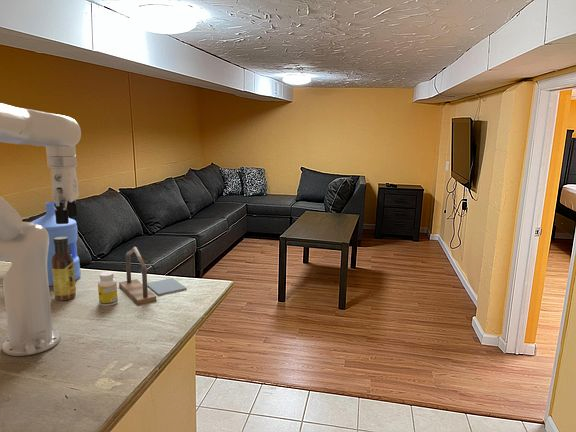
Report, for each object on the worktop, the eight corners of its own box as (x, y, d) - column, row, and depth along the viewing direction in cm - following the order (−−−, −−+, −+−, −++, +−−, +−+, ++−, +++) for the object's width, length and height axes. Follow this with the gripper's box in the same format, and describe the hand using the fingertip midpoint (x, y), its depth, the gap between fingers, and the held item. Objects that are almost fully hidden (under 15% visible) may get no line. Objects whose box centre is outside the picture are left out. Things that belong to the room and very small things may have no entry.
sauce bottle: (75, 300, 137) (70, 239, 133) (53, 302, 135) (47, 241, 131) (77, 292, 143) (72, 234, 139) (55, 295, 141) (50, 236, 137)
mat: (186, 289, 148) (186, 287, 148) (158, 295, 142) (158, 294, 142) (172, 279, 157) (172, 277, 157) (145, 284, 151) (145, 283, 151)
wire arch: (156, 300, 138) (154, 252, 135) (137, 304, 135) (135, 255, 131) (136, 283, 153) (134, 239, 150) (119, 286, 149) (116, 241, 146)
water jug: (36, 290, 144) (28, 208, 138) (28, 277, 156) (20, 201, 150) (86, 281, 154) (80, 204, 148) (74, 269, 166) (69, 197, 160)
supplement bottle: (99, 300, 137) (97, 271, 135) (117, 298, 139) (116, 269, 137) (98, 307, 132) (96, 277, 130) (117, 305, 134) (116, 275, 132)
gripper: (67, 165, 116) (73, 226, 120) (83, 159, 133) (87, 213, 137) (37, 165, 115) (43, 227, 119) (57, 159, 131) (62, 213, 135)
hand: (67, 219), depth 128 cm, fingers open, 9 cm apart
